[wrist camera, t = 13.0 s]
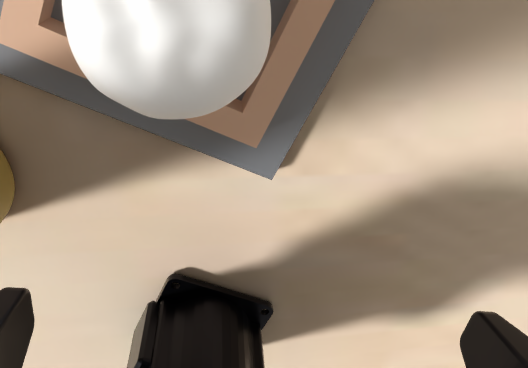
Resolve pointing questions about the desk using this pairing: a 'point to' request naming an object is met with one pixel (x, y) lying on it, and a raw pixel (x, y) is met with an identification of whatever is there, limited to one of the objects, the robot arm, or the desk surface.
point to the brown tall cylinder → (5, 186)
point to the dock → (226, 118)
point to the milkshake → (169, 51)
